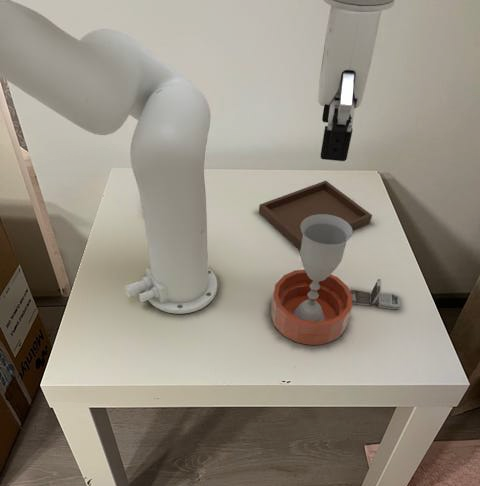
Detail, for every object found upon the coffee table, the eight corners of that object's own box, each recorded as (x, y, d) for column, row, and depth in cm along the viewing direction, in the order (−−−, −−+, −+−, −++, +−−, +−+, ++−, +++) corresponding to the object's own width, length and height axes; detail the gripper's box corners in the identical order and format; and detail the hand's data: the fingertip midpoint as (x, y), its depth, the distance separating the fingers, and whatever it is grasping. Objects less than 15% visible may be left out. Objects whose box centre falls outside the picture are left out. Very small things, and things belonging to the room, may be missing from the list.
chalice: (330, 302, 83) (351, 216, 70) (331, 332, 79) (354, 246, 65) (287, 298, 84) (300, 212, 70) (286, 328, 79) (299, 241, 66)
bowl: (302, 357, 76) (306, 337, 72) (256, 307, 83) (258, 286, 79) (362, 325, 80) (369, 305, 77) (314, 280, 87) (318, 259, 84)
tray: (302, 252, 92) (303, 243, 91) (258, 213, 100) (259, 204, 99) (369, 223, 99) (372, 215, 98) (324, 188, 107) (325, 180, 106)
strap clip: (398, 298, 85) (404, 280, 82) (398, 310, 83) (406, 293, 80) (349, 291, 86) (354, 273, 83) (348, 303, 84) (354, 285, 81)
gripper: (326, -39, 56) (307, 107, 69) (323, 7, 45) (301, 172, 58) (391, -35, 56) (360, 112, 69) (405, 13, 44) (364, 178, 57)
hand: (333, 139), depth 63 cm, fingers open, 9 cm apart
